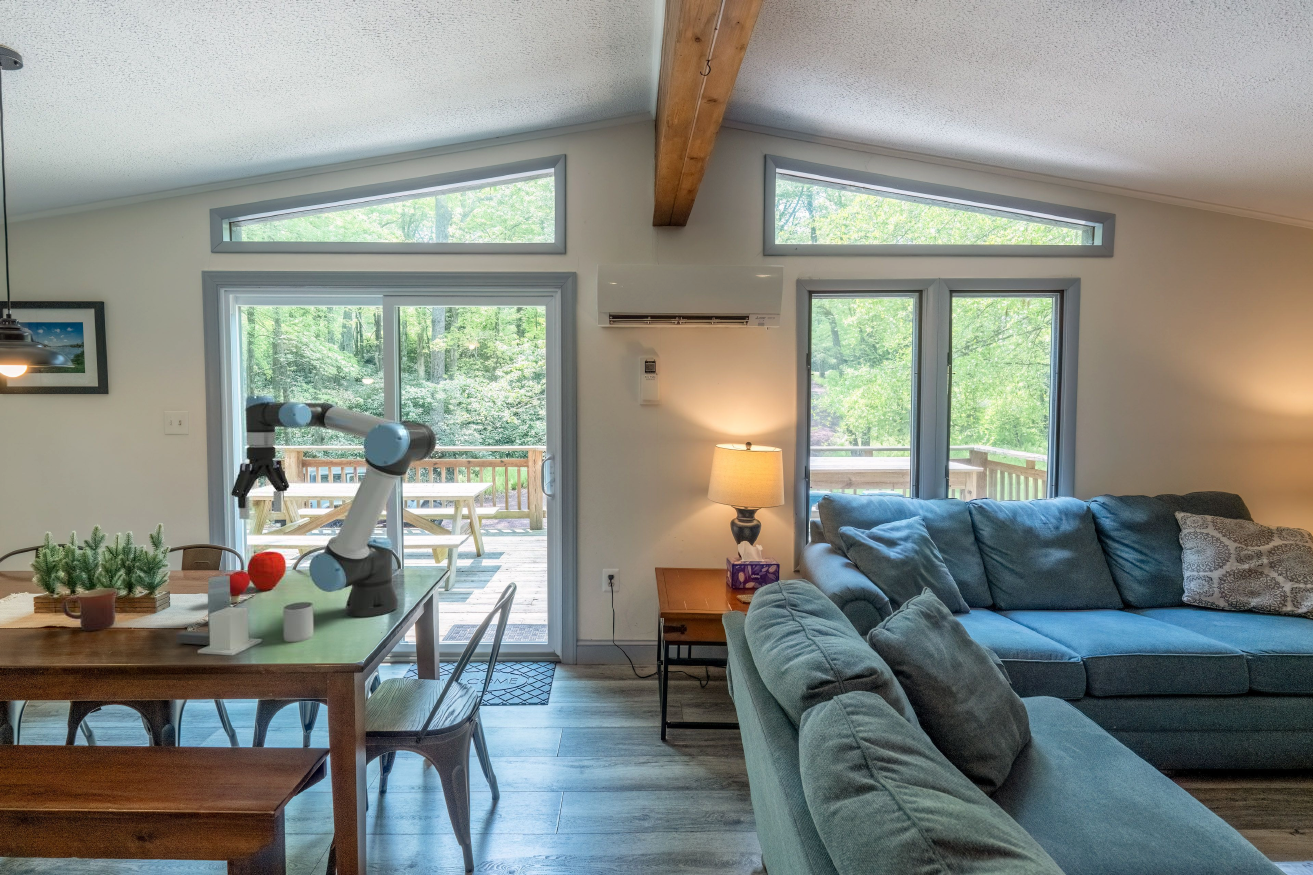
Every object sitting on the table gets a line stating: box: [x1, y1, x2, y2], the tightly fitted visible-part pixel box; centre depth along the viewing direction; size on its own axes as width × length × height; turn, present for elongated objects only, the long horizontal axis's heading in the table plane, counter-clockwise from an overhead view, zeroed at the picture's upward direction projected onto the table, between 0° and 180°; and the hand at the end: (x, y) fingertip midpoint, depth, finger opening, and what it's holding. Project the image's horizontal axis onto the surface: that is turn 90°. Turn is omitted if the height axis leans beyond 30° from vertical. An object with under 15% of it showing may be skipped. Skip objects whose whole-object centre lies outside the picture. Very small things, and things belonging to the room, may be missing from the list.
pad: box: [197, 637, 263, 656], centre depth 167 cm, size 10×10×1 cm
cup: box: [282, 601, 314, 643], centre depth 175 cm, size 7×10×9 cm
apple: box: [246, 551, 287, 592], centre depth 220 cm, size 12×12×13 cm
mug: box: [61, 587, 119, 632], centre depth 179 cm, size 12×9×10 cm
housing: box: [207, 575, 231, 632], centre depth 180 cm, size 5×20×13 cm, turn 35°
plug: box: [177, 606, 249, 650], centre depth 167 cm, size 18×6×9 cm, turn 82°
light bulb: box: [224, 570, 251, 604], centre depth 204 cm, size 9×7×10 cm
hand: (262, 515), depth 192 cm, fingers open, 13 cm apart
